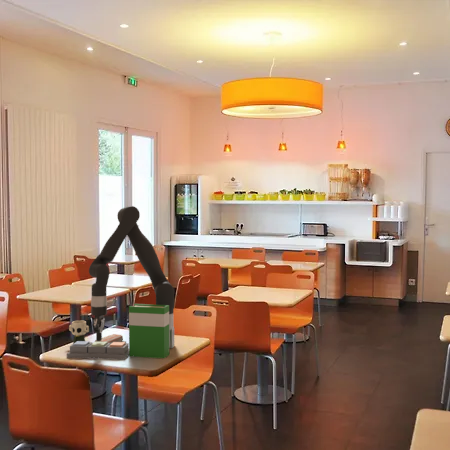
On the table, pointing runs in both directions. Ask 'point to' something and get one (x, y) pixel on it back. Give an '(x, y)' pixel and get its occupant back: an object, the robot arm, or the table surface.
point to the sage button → (99, 344)
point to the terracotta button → (117, 344)
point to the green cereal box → (149, 330)
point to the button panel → (98, 351)
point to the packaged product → (112, 339)
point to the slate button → (81, 343)
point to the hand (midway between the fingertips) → (99, 340)
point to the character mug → (78, 330)
